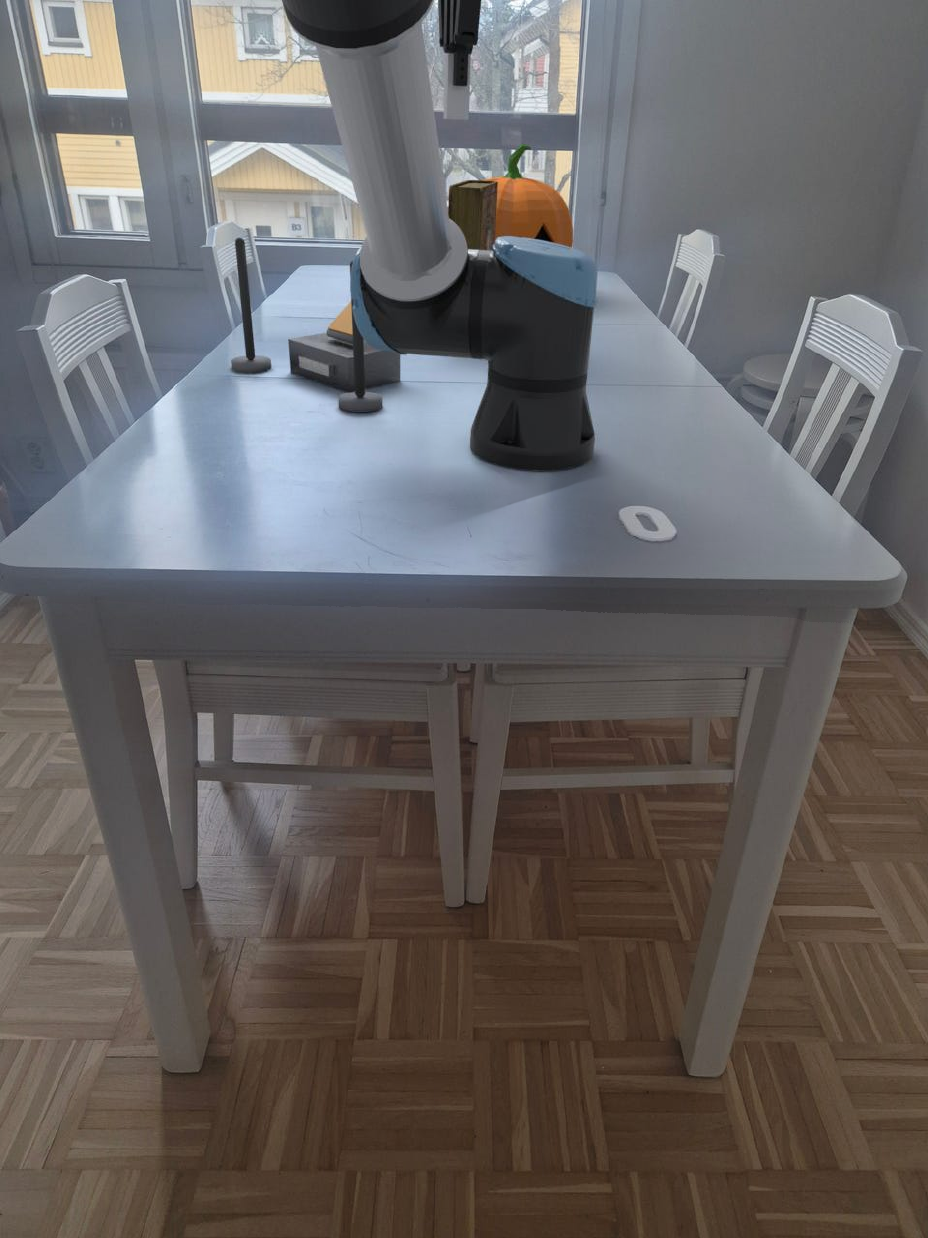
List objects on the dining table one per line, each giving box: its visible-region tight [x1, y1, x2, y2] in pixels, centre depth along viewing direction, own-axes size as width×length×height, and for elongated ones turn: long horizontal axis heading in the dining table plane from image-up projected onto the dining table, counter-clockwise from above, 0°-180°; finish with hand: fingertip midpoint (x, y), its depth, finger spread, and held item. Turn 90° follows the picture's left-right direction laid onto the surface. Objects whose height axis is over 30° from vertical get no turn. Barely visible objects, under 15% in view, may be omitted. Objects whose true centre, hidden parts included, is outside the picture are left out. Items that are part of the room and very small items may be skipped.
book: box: [447, 179, 498, 251], centre depth 148 cm, size 16×6×25 cm, turn 168°
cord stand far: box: [230, 237, 272, 374], centre depth 125 cm, size 6×6×19 cm
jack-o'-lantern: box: [484, 143, 574, 248], centre depth 185 cm, size 28×28×30 cm
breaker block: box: [288, 332, 401, 393], centre depth 126 cm, size 11×14×5 cm
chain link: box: [618, 505, 677, 540], centre depth 85 cm, size 8×1×5 cm
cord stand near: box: [337, 260, 383, 413], centre depth 111 cm, size 6×6×19 cm
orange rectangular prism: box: [325, 301, 364, 344], centre depth 126 cm, size 2×6×10 cm
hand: (456, 118), depth 100 cm, fingers closed
